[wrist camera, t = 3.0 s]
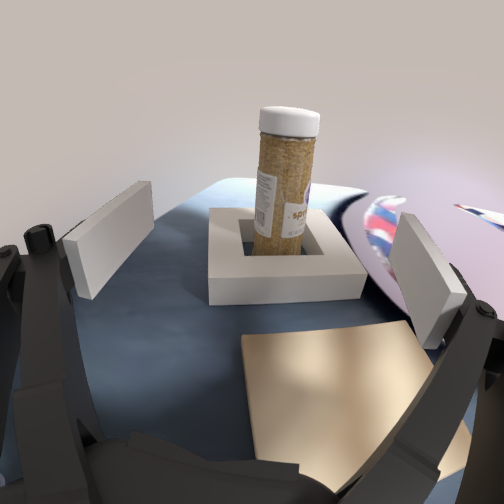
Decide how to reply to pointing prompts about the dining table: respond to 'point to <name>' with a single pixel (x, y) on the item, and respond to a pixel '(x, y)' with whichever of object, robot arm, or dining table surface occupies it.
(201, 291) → the dining table surface
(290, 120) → the sprinkles bottle
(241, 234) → the socket block
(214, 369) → the dining table surface
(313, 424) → the birch board
